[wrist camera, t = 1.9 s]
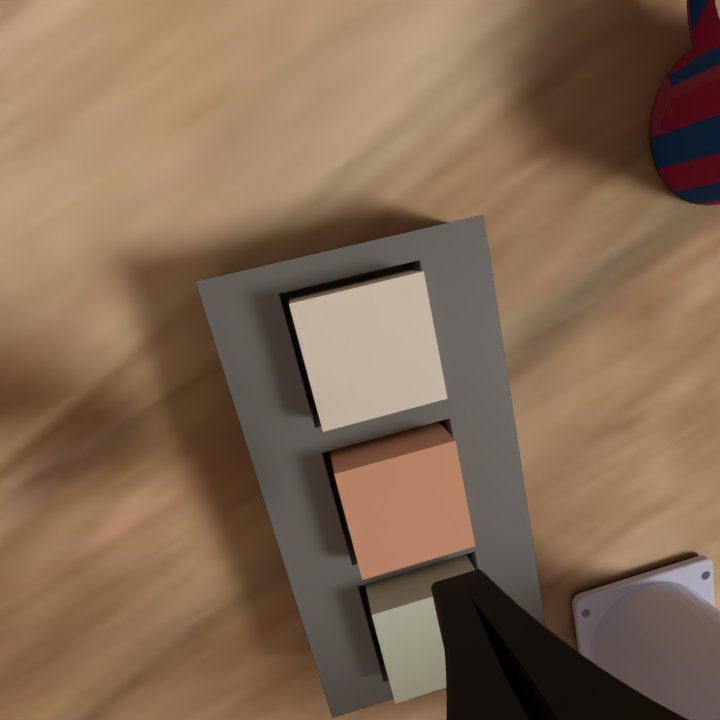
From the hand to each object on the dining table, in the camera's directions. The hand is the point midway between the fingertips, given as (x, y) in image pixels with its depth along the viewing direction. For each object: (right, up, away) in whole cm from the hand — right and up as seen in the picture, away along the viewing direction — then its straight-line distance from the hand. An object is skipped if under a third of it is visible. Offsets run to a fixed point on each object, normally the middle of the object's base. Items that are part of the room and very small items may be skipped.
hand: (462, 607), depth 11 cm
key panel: (-2, +2, +9) cm, 9 cm away
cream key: (-3, +7, +5) cm, 9 cm away
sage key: (0, -4, +8) cm, 9 cm away
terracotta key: (-1, +1, +7) cm, 7 cm away
